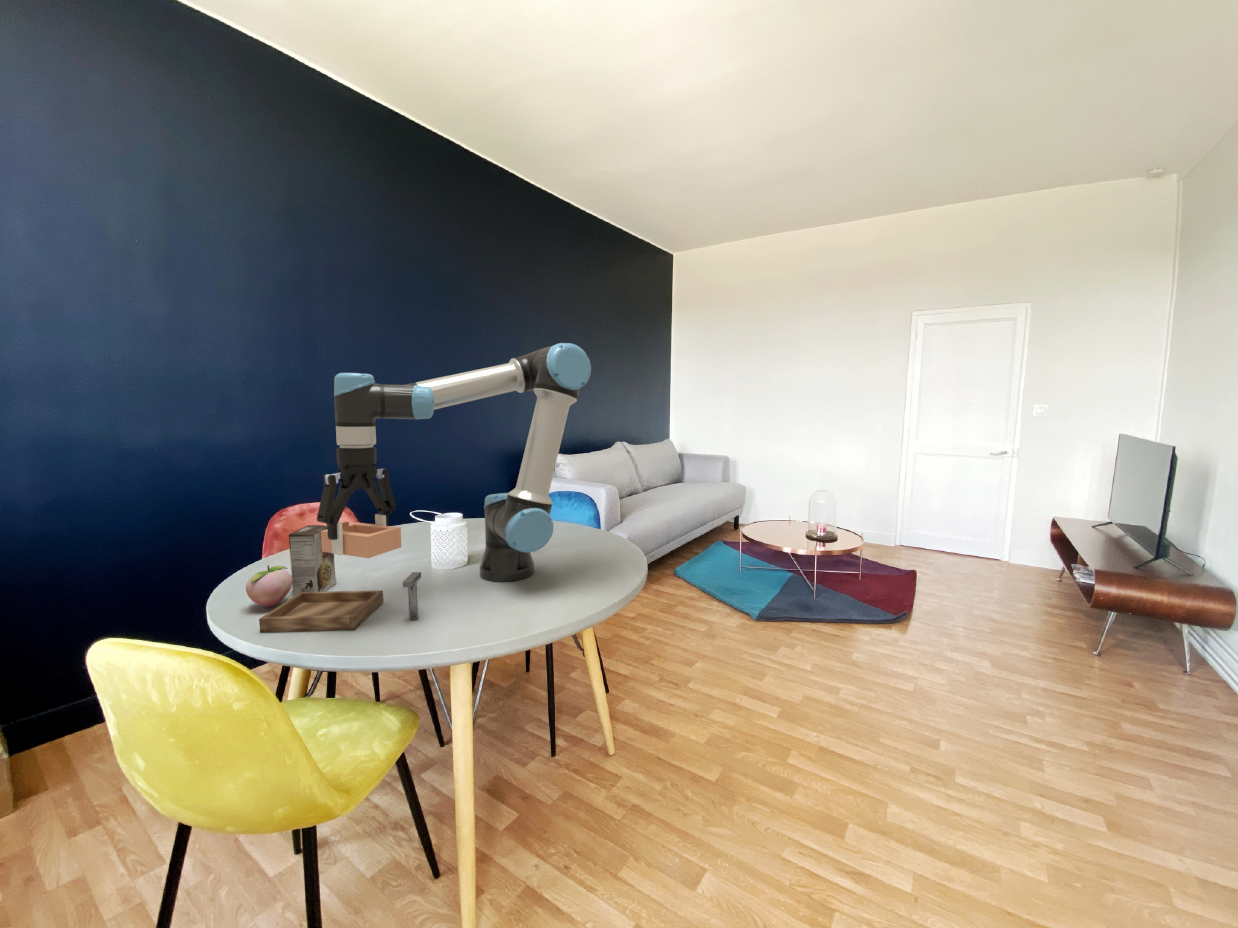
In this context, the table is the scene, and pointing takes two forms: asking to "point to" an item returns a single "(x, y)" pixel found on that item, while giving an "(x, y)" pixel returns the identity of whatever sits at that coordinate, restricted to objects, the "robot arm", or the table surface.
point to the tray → (322, 611)
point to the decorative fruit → (269, 586)
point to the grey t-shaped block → (412, 594)
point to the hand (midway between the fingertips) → (360, 548)
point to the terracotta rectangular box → (365, 539)
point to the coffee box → (310, 561)
